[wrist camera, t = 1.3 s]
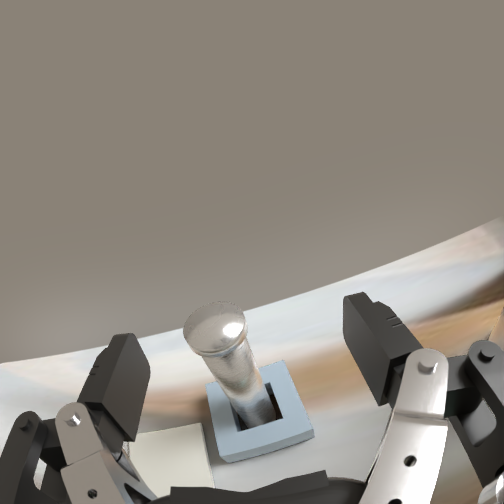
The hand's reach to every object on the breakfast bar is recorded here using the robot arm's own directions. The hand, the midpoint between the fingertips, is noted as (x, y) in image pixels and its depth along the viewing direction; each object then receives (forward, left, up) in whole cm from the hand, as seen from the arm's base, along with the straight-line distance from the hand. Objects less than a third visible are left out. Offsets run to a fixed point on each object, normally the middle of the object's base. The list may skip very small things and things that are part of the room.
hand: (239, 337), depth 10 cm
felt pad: (+14, -4, -23) cm, 27 cm away
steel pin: (+2, -8, -23) cm, 25 cm away
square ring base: (+2, -11, -23) cm, 26 cm away
